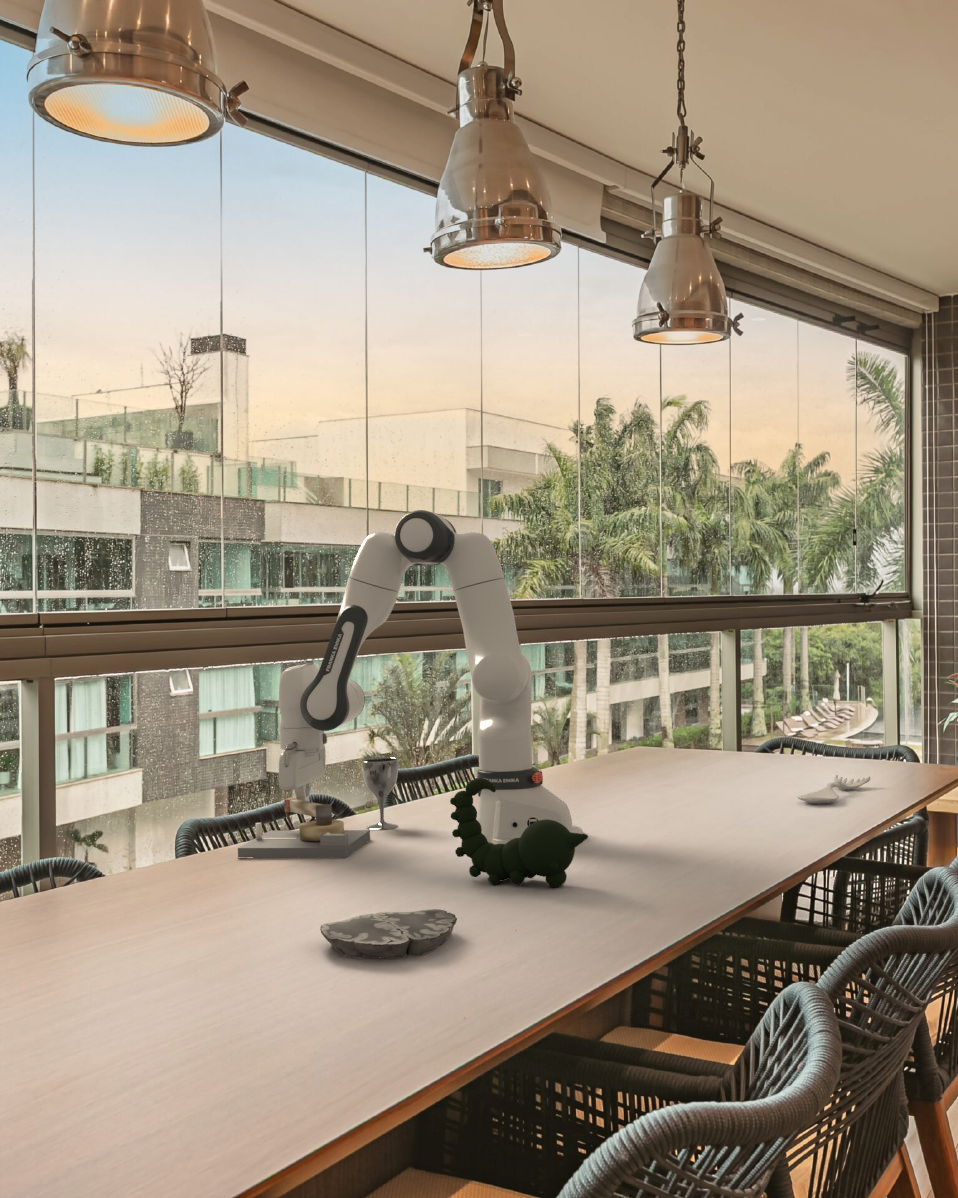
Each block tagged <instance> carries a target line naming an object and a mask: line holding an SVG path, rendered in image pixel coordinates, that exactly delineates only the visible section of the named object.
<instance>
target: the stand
mask: <svg viewBox="0 0 958 1198" xmlns="http://www.w3.org/2000/svg"><path fill="white" fill-rule="evenodd" d="M262 827H263V826H262V822H255V838H254V839H252V840H250V841H248V842H246V843H244V844H242V845H241V846H239V847H237V858H238V857H253V858H252V859H346V858H348V857H349V856H351V855H352V854H353V853H354V852H356V851H357V850H358V849H360V848H361V847H362V846H364V845H365V844H366V843H368V842H369V841H371V830H369V829H363V830H362V829H349V830H348V829H344V834H330V833H329V832H327V833H326V834H323V835H321V836H320V841H305V840H301V839H300V835H299V829H298V830H296V829H294V830H291V829H290V830H269V831H266V832H265V833H263V831H262V829H263V828H262ZM262 833H263V834H262Z"/></svg>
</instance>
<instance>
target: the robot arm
mask: <svg viewBox="0 0 958 1198" xmlns="http://www.w3.org/2000/svg"><path fill="white" fill-rule="evenodd" d="M495 549H496V548H494V546H493V544H492V542H491V540H490V539H489V537H488V536H486V535H485V534H483V533H480V532H474V531H473V532H472V531H471V532H465V533H457V531H456V528H455V527H454V525H453V523H451V522H450V521H449V520H447V519H446V518H445V517H444V516H442V515H440V514H439V513H436V512H433V511H429V510H425V509H424V510H423V509H421V510H420V509H418V510H413V511H410V512H408V513H406V514H405V515H403V516H402V517H401V518H400V519H399V521H398V523H397V524H396V526H395V530H394V534H392V533H390V532H389V533H388V532H373V533H370V534H369V535H367V536H366V537H365V538H364V540H363V541H362V544H361V545H360V547H359V549H358V552H357V554H356V556H355V559H354V560H353V562H352V565H351V568H350V571H349V576H348V579H347V581H346V585H345V588H344V589H345V590H344V593H343V597H342V601H341V604H340V609H339V611H338V615H337V618H336V622H335V625H334V628H333V630H332V634H331V636H330V639H329V642H328V644H327V647H326V650H325V653H324V655H323V658H322V662H321V663H320V667H319V666H317V664H316V663H315V664H314V663H310V662H309V663H308V662H307V663H304V664H297V665H293V666H290V667H287V668H285V669H284V670H283V671H282V672H281V674H280V678H279V686H278V707H279V710H280V715H281V716H280V717H281V719H280V723H279V741H280V744H279V745H280V749H281V750H283V752H282V753H281V754H280V756H279V760H278V787H279V789H280V790H283V791H285V790H286V791H288V790H290V791H291V790H294V794H295V798H297V800H303V801H308V802H311V801H310V794H311V789H312V782H314V781H316V780H318V779H321V778H323V777H324V775H325V773H326V757H327V756H326V753H327V751H326V745H327V743H328V735H327V733H326V732H328V731H329V732H330V731H332V730H335V729H337V728H338V727H340V726H341V725H344V724H347V723H348V722H352V721H353V720H354V719H356V718H357V717H359V716H360V714H361V713H362V711H363V710H364V707H365V704H366V703H365V701H366V698H365V697H366V696H365V692H364V690H363V689H362V687H361V686H360V685H359V684H358V682H356V681H355V680H352V679H350V677H351V675H352V671H353V669H354V666H355V663H356V661H357V658H358V654H359V651H360V649H361V647H362V645H363V644H364V642H365V640H366V639H367V638H368V636H370V635H371V634H372V633H373V632H374V631H375V630H376V629H378V628H379V627H381V626H382V625H383V624H385V623H386V621H387V620H388V619H389V617H390V615H391V613H392V611H393V609H394V607H395V605H396V602H397V599H398V595H399V591H400V589H401V585H402V582H403V579H404V577H405V574H406V572H407V570H408V569H409V568H410V567H411V566H439V565H442V566H443V567H444V568H445V570H446V571H447V573H448V576H449V579H450V582H451V586H452V590H453V595H454V598H455V602H456V607H457V611H458V615H459V618H460V624H461V627H462V631H463V637H464V645H465V650H466V655H467V660H468V661H467V662H468V667H469V672H470V677H471V681H472V685H473V688H474V690H475V692H476V694H478V696H479V712H478V725H477V726H478V727H477V745H478V747H477V748H478V769H477V770H476V773H477V774H476V778H483V779H487V780H489V781H490V782H491V783H492V784H493V785H494V786H495V788H496V791H495V792H492V791H491V790H489V789H482V790H481V791H480V792H479V793H477V795H478V797H479V798H478V800H479V801H478V811H477V818H476V820H478V821H479V823H480V825H481V828H482V832H481V833H482V834H483V835H484V836H485V837H486V839H487V841H488V843H491V844H494V845H495V844H506V843H507V842H509V841H510V840H512V839H514V838H520V837H521V835H522V833H523V832H524V830H525V829H526V828H527V827H528V826H530V825H531V824H533V823H534V822H536V821H539V820H545V819H549V820H554V821H557V822H559V823H561V824H562V825H564V826H565V827H566V828H567V829H568V830H569V831H570V832H571V833H580V834H584V832H583V828H582V827H581V826H578V825H573V821H572V820H573V819H572V816H571V812H570V809H569V806H568V804H567V803H566V802H565V801H564V800H563V799H561V798H560V797H559V796H557V795H555V794H554V793H553V792H552V791H550V790H549V789H548V788H546V787H544V786H543V781H544V778H543V777H544V775H543V771H542V770H541V769H537V768H536V767H534V766H533V752H532V751H533V750H532V747H533V746H532V669H531V665H530V663H529V660H528V658H526V656H525V655H524V654H523V653H522V651H521V646H520V641H519V635H518V631H517V626H516V620H515V619H516V618H515V614H514V609H513V606H512V602H511V597H510V594H509V590H508V586H507V583H506V578H505V575H504V571H503V568H502V564H501V562H500V560H499V556H498V555H497V552H496V550H495Z"/></svg>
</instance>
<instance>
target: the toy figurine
mask: <svg viewBox="0 0 958 1198" xmlns="http://www.w3.org/2000/svg"><path fill="white" fill-rule="evenodd" d="M482 789H489V790H491V791H492V792H495V791H496V788H495V786H494V785H493V784H492V783H491V782H490V781H489V780H487V779H483V778H477V777H476V778H473V779H471V780H469V782H467V783H466V785H465V790H459V791H457V792H456V793H455V795H454V796H453V797H451V798H450V800H449V803H450V805H452V806H454V807H455V810H454V811H452V812H451V814H450V818H451V820H453V821H456V822H457V823H458V825H457V828H455V829H453V830H452V832H451V833H452V836H453V837H454V838H460V839H461V842H460V843H461V844H460V845H461V846H458V847H457V848H456V849H455V850H454V851H455V855H456V856H457V857H458V858H461V857H464V856H465V855H466V857H468V858H470V859H471V863H472V864H473V865H471V866H470V867H469V871H468V872H469V875H470V876H471V877H474V878H477V877H479V876H480V875H481V873H486V874H487V876H488V881H489V883H490V884H492V885H493V886H496V885H499V884H500V882H501V881H505V880H510V882H511V883H512V884H513V885H516V886H518V885H521V884H522V883H523V882H524V881H525V879H526V878H527V879H533V878H535V877H536V876H539V877H543V878H545V882H546V884H547V885H548V886H549V887H550V888H558V887H561V886H564V883H566V881H567V875H568V874H567V873H566V870H567V869H569V866H570V865H571V864H572V862H573V860H574V857H575V852H576V848H577V847H578V846H579V845H581V844H582V843H583V842H585V841H586V840H587V839H588V837H589V835H588V834H585V833H583V834H580V833H571V832H570V831H569V830H568V829H567V828H566V827H565V826H564V825H562V824H561V823H559V822H557V821H554V820H549V819H545V820H539V821H536V822H534V823H533V824H531V825H530V826H528V827H527V828H526V829H525V830H524V832H523V833H522V835H521V837H520V838H514V839H512V840H510V841H509V842H507V843H506V844H493V843H489V842H488V841H487V839H486V837H485V836H484V835H483V834H482V833H481V832H482V828H481V825H480V823H479V821H478V820H477V819H478V811H477V808H476V806H475V805H474V797H473V796H476V795H478V793H479V792H480V791H481V790H482Z"/></svg>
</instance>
